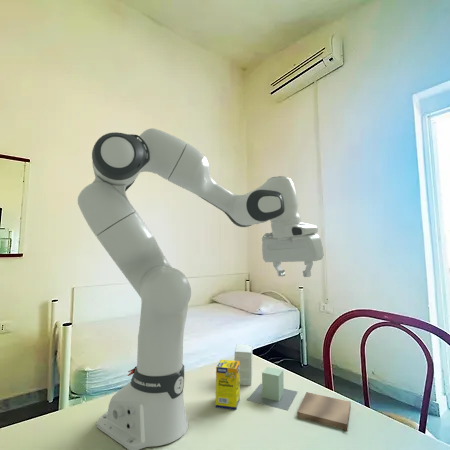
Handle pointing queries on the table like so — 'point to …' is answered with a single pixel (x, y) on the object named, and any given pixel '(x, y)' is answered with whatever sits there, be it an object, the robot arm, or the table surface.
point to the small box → (244, 363)
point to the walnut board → (325, 410)
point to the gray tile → (282, 403)
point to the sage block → (272, 383)
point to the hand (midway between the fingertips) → (294, 276)
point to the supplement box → (227, 384)
